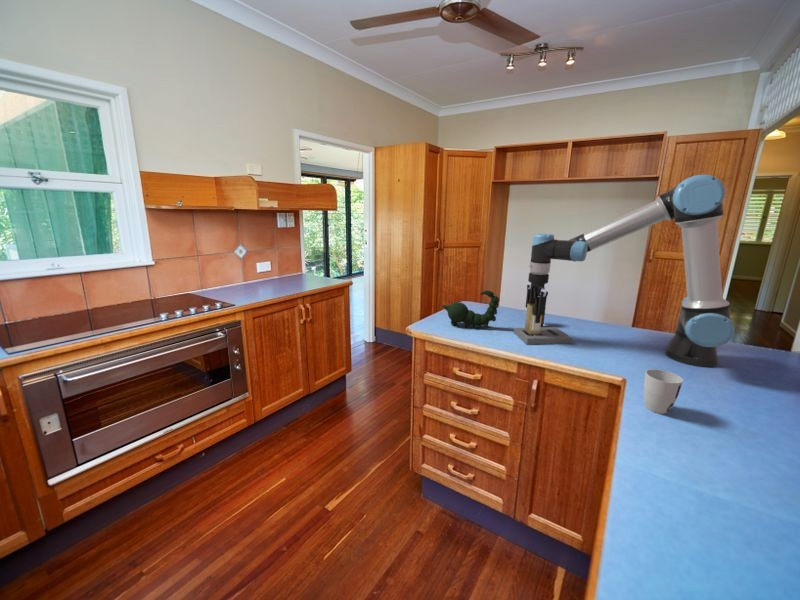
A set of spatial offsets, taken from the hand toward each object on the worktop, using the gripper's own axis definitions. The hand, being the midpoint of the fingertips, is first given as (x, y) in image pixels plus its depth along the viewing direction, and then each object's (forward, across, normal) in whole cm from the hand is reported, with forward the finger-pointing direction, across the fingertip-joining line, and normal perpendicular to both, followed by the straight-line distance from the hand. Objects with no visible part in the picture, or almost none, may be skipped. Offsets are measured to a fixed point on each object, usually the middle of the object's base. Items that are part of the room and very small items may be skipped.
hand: (532, 327), depth 145 cm
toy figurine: (+5, -16, -22) cm, 28 cm away
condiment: (+5, -17, +12) cm, 21 cm away
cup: (+5, +54, +10) cm, 55 cm away
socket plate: (+5, 0, +5) cm, 7 cm away
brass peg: (+2, 0, 0) cm, 2 cm away
